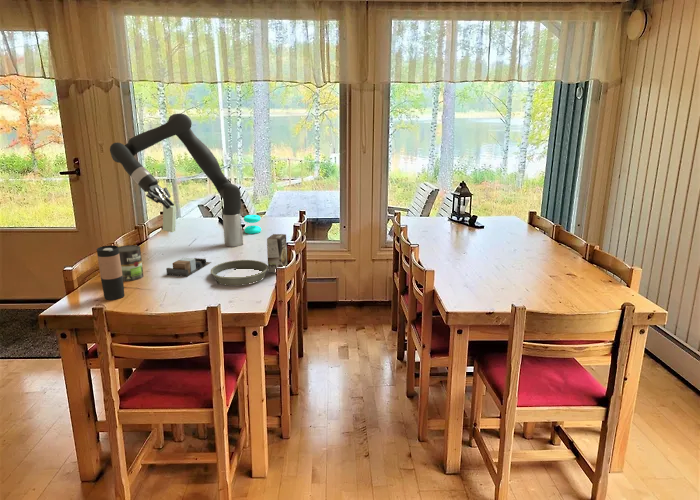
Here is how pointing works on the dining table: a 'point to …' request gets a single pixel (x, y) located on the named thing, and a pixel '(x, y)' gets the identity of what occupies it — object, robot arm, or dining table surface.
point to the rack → (184, 272)
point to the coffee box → (276, 251)
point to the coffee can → (131, 262)
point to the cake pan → (239, 265)
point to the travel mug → (110, 272)
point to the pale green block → (169, 218)
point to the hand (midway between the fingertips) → (170, 206)
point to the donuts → (252, 220)
